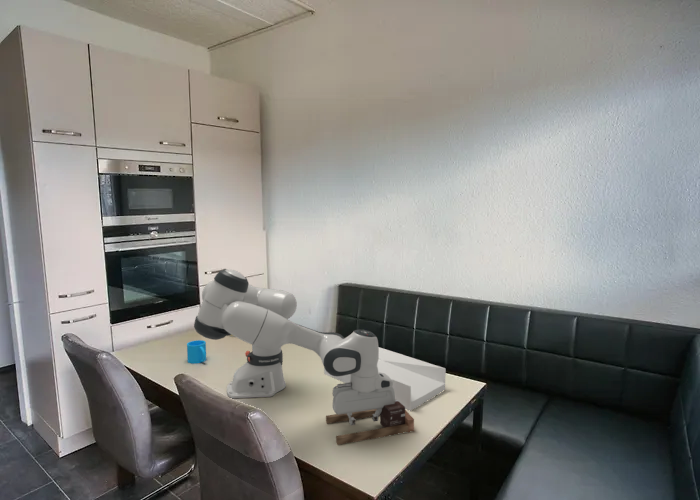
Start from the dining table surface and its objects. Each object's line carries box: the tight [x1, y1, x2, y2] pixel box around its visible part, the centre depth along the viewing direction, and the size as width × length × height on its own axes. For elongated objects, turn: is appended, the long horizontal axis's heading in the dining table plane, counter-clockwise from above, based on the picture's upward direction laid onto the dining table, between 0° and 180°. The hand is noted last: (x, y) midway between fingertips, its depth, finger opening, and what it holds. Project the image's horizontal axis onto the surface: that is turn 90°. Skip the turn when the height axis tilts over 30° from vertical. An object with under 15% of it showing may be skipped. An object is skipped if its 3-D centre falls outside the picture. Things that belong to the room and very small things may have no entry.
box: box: [379, 400, 406, 428], centre depth 132 cm, size 6×6×7 cm
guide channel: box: [325, 409, 415, 446], centre depth 132 cm, size 25×14×4 cm, turn 107°
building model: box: [323, 346, 447, 412], centre depth 165 cm, size 45×22×10 cm, turn 45°
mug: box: [186, 339, 207, 365], centre depth 187 cm, size 12×8×8 cm
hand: (363, 422), depth 131 cm, fingers open, 6 cm apart
